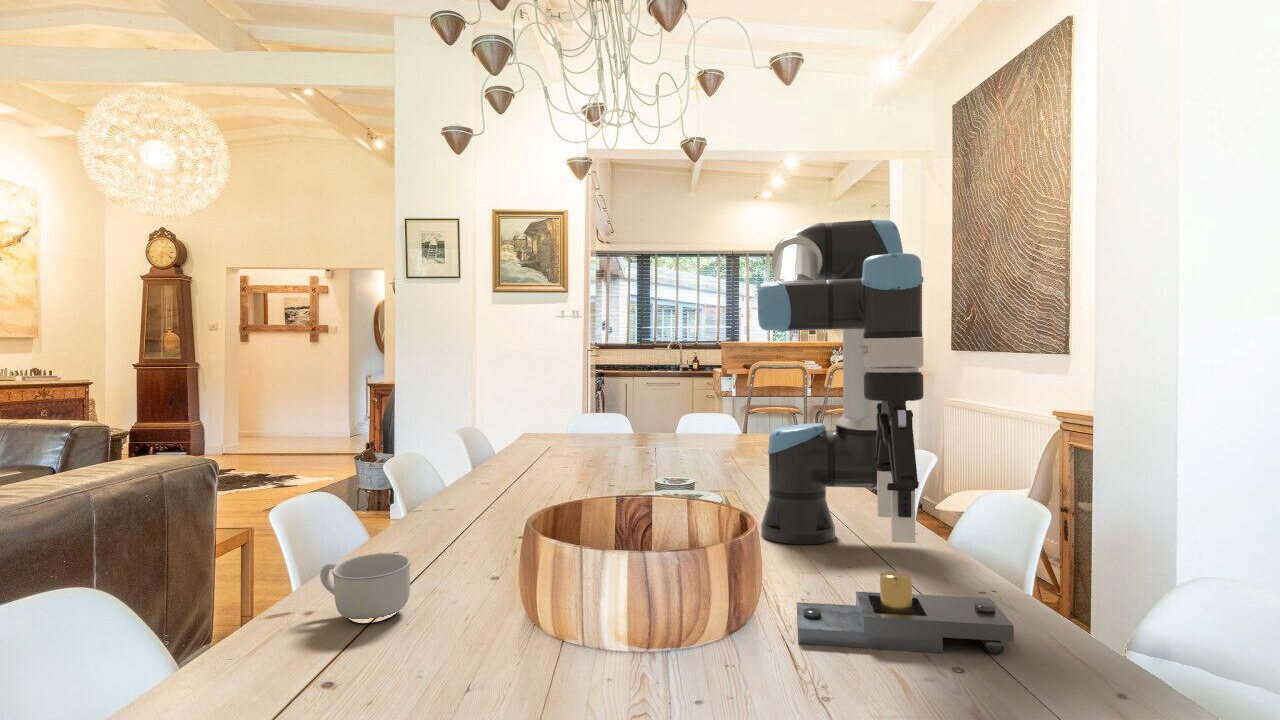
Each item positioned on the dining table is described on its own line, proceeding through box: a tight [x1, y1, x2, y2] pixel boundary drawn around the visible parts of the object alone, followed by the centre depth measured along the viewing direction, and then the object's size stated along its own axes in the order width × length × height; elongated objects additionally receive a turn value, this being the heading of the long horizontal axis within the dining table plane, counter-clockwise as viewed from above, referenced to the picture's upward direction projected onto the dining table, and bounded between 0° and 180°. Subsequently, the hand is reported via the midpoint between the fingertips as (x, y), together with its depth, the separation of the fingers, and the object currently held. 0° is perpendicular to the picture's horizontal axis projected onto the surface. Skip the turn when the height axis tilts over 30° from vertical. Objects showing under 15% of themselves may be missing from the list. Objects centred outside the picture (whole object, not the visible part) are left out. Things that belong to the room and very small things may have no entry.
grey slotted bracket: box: [796, 591, 1015, 656], centre depth 94 cm, size 10×26×5 cm, turn 78°
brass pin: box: [879, 570, 913, 615], centre depth 94 cm, size 4×4×8 cm
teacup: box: [319, 552, 411, 619], centre depth 105 cm, size 14×11×8 cm
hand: (895, 528), depth 94 cm, fingers open, 13 cm apart
